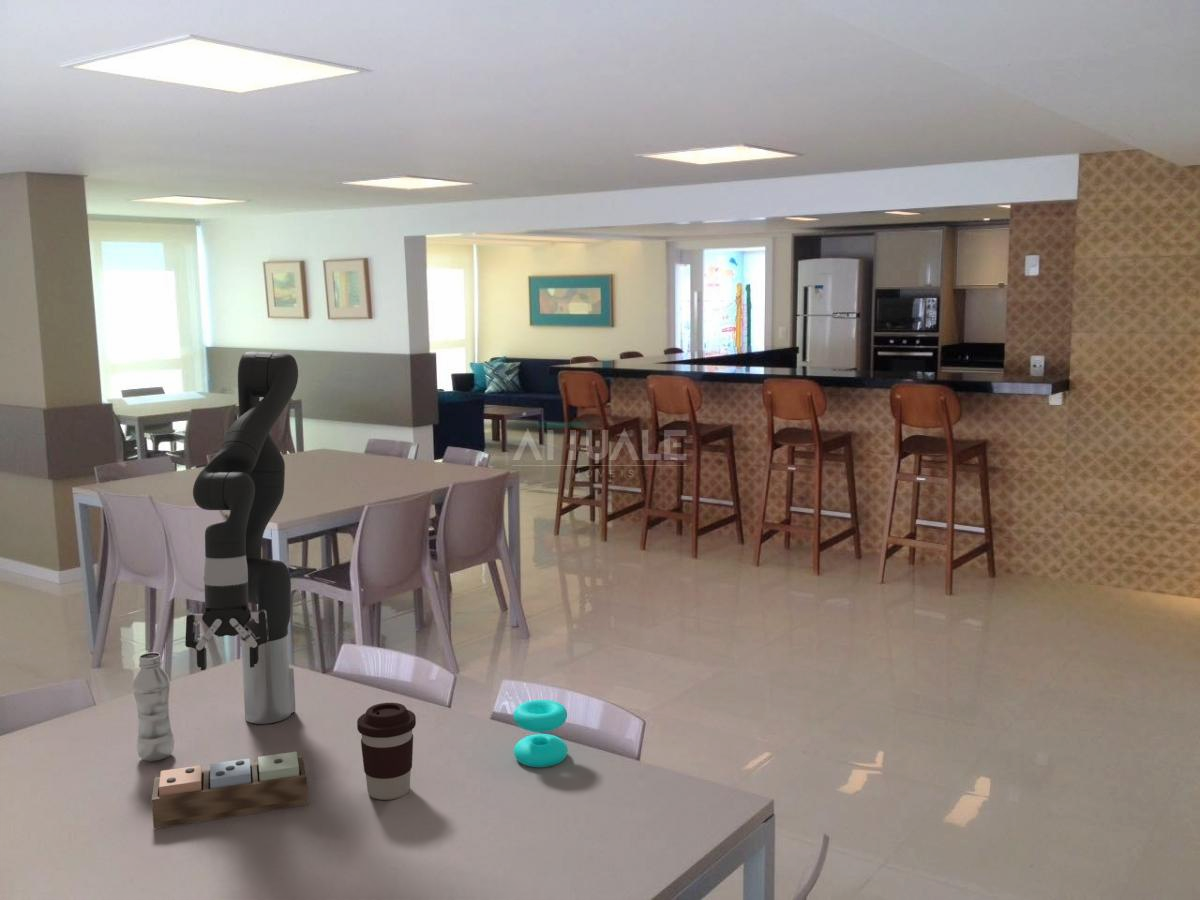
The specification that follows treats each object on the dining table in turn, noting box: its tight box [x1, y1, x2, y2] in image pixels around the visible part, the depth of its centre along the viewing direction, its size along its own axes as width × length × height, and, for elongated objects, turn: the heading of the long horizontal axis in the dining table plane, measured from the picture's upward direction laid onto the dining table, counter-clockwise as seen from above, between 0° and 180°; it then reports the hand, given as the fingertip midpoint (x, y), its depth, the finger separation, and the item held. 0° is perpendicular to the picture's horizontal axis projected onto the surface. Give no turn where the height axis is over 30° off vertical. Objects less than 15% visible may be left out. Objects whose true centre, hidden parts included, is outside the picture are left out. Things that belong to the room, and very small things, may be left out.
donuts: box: [513, 699, 569, 768], centre depth 195 cm, size 10×10×10 cm
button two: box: [159, 764, 203, 797], centre depth 174 cm, size 6×6×3 cm
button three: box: [209, 758, 251, 789], centre depth 177 cm, size 6×6×3 cm
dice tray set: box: [151, 755, 309, 829], centre depth 177 cm, size 24×9×5 cm, turn 110°
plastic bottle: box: [132, 651, 175, 762], centre depth 195 cm, size 6×7×20 cm
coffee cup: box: [356, 702, 417, 801], centre depth 181 cm, size 10×10×15 cm
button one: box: [257, 751, 299, 781], centre depth 179 cm, size 6×6×3 cm
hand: (228, 668), depth 192 cm, fingers open, 8 cm apart
